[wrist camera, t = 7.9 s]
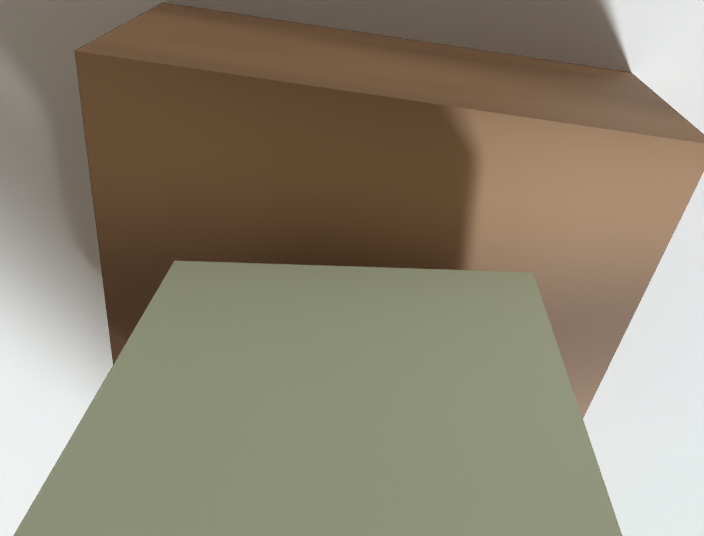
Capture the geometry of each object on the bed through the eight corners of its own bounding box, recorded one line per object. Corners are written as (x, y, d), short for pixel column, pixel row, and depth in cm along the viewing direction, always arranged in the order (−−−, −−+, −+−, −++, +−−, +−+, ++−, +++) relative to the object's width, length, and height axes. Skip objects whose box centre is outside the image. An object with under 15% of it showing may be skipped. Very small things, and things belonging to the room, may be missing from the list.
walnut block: (503, 395, 17) (530, 525, 13) (180, 350, 17) (126, 470, 13) (626, 68, 12) (716, 145, 8) (167, -1, 12) (73, 51, 8)
